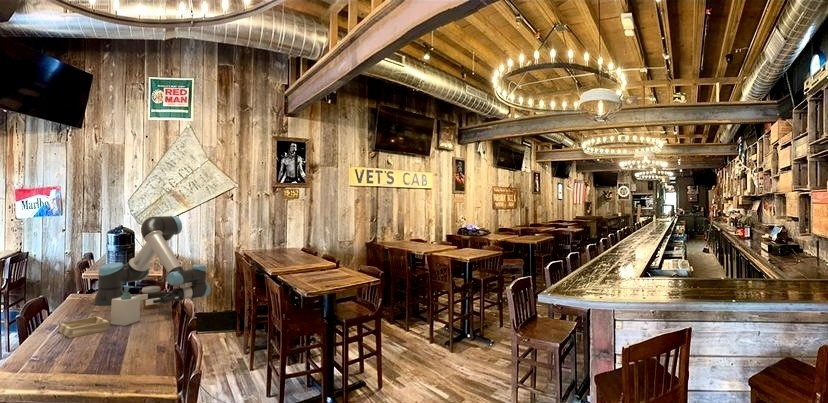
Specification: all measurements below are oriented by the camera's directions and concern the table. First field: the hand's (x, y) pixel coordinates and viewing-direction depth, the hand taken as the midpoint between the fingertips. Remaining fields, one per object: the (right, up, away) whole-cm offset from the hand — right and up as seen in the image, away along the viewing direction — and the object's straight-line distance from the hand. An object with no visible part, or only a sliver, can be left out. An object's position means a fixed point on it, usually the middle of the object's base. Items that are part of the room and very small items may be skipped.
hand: (139, 300), depth 207 cm
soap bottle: (-4, -10, -5) cm, 12 cm away
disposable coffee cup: (-10, -10, +24) cm, 28 cm away
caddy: (-13, -10, -19) cm, 25 cm away
